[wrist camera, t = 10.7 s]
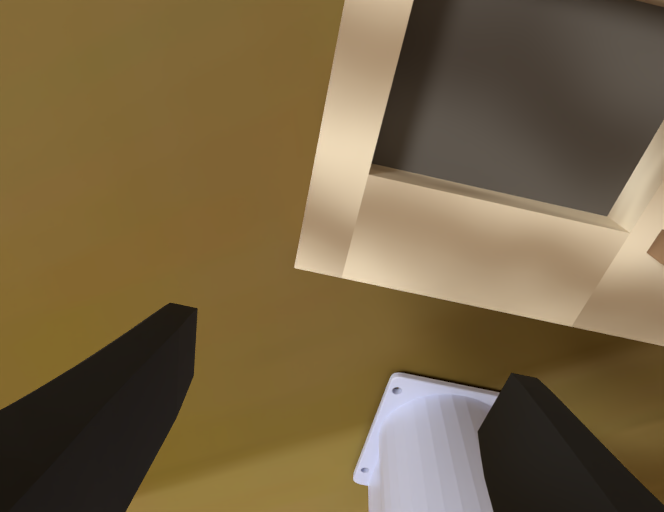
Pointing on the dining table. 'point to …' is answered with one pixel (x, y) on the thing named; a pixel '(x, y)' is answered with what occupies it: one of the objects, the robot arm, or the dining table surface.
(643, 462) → the dining table surface
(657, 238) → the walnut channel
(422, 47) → the birch deck
